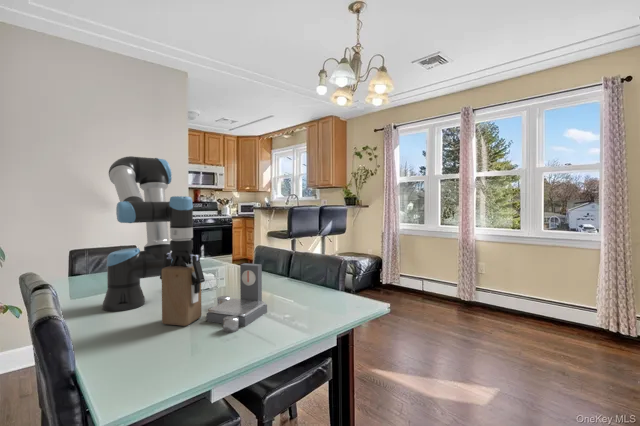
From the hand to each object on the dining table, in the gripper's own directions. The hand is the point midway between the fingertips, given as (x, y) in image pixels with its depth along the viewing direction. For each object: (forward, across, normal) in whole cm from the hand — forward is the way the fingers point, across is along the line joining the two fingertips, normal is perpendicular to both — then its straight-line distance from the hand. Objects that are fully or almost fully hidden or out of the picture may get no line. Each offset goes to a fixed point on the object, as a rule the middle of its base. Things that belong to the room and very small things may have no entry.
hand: (182, 300), depth 118 cm
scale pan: (+7, +16, +11) cm, 21 cm away
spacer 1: (+8, +4, +19) cm, 21 cm away
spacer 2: (+8, +21, -1) cm, 23 cm away
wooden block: (+8, 0, 0) cm, 8 cm away
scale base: (+8, +16, +12) cm, 22 cm away
